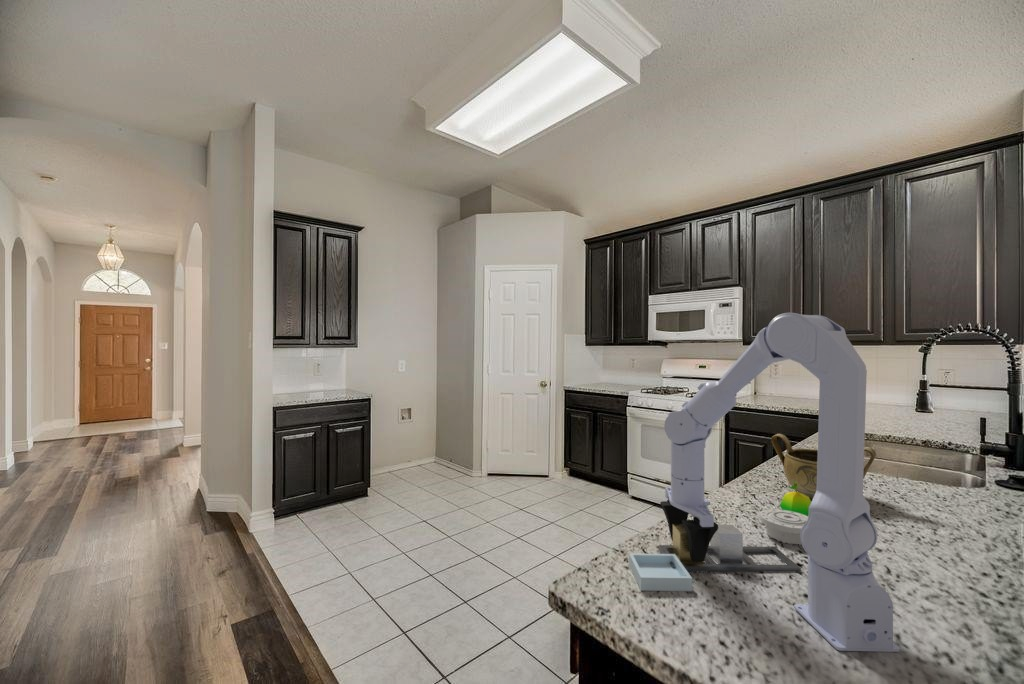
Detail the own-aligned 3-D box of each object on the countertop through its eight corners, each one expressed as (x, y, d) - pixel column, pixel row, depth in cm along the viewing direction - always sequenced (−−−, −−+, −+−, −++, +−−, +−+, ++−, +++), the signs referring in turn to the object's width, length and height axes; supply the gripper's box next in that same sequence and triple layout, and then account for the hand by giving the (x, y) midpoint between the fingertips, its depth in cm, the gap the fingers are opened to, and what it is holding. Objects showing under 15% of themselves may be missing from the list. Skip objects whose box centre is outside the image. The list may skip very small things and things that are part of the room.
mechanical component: (754, 517, 90) (766, 504, 98) (754, 538, 90) (766, 524, 98) (812, 531, 84) (821, 516, 91) (812, 554, 84) (821, 537, 91)
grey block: (742, 567, 79) (742, 533, 79) (719, 567, 79) (719, 533, 79) (732, 556, 83) (732, 524, 83) (710, 556, 83) (710, 524, 83)
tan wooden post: (702, 566, 79) (702, 533, 79) (680, 566, 79) (680, 532, 79) (694, 556, 83) (694, 524, 83) (672, 555, 83) (672, 523, 83)
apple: (790, 513, 104) (790, 475, 104) (819, 523, 98) (819, 482, 98) (772, 519, 100) (772, 480, 100) (802, 530, 95) (802, 487, 95)
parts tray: (692, 591, 71) (692, 578, 71) (640, 590, 71) (640, 577, 71) (674, 565, 79) (674, 554, 79) (628, 565, 80) (628, 553, 80)
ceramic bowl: (761, 494, 117) (761, 437, 118) (783, 480, 129) (783, 429, 129) (868, 519, 101) (868, 453, 101) (882, 501, 112) (882, 442, 112)
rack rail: (800, 573, 77) (800, 568, 77) (672, 571, 77) (672, 565, 77) (774, 552, 85) (774, 546, 85) (658, 550, 85) (658, 545, 85)
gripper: (731, 488, 74) (730, 569, 74) (689, 464, 89) (689, 532, 89) (690, 489, 74) (690, 571, 74) (655, 465, 88) (655, 533, 88)
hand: (687, 550), depth 81 cm, fingers open, 7 cm apart
